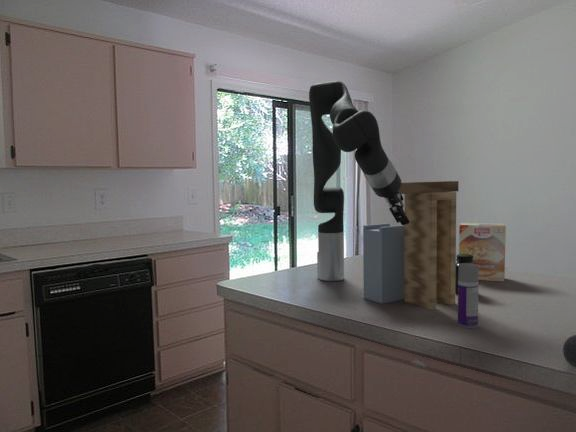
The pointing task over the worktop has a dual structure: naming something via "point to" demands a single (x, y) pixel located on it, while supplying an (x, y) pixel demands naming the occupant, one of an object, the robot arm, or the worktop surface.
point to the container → (468, 295)
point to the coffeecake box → (485, 248)
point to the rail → (428, 187)
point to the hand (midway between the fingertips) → (402, 211)
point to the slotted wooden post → (430, 249)
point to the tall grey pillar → (383, 262)
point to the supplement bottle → (460, 259)
